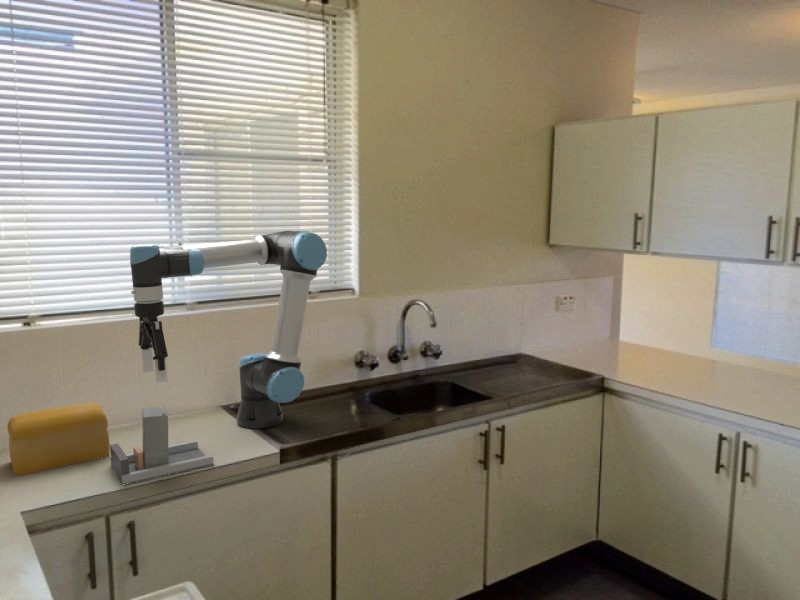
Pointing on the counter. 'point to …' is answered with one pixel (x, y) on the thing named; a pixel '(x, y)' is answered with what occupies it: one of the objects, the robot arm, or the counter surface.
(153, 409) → the skincare box
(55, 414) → the bread
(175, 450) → the lane
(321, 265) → the robot arm
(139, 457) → the block
